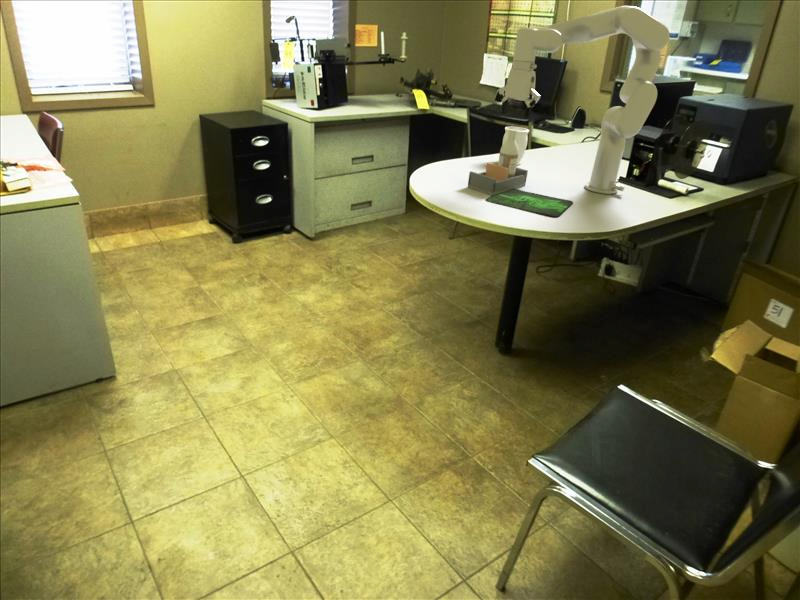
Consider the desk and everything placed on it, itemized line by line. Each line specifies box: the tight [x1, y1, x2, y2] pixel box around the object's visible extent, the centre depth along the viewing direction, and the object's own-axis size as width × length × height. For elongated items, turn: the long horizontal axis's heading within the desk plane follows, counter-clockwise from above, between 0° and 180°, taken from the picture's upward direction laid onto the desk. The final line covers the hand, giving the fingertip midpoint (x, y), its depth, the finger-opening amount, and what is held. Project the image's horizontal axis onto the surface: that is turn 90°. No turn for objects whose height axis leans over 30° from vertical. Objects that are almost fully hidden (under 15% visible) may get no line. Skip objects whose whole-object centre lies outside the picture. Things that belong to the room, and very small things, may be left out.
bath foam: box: [497, 129, 519, 179], centre depth 218 cm, size 7×7×20 cm
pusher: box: [485, 162, 509, 182], centre depth 215 cm, size 9×5×7 cm, turn 46°
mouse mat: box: [484, 188, 574, 218], centre depth 206 cm, size 27×22×1 cm
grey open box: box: [467, 166, 528, 196], centre depth 219 cm, size 12×22×6 cm, turn 136°
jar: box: [501, 126, 530, 166], centre depth 250 cm, size 11×10×15 cm
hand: (515, 115), depth 211 cm, fingers open, 9 cm apart
